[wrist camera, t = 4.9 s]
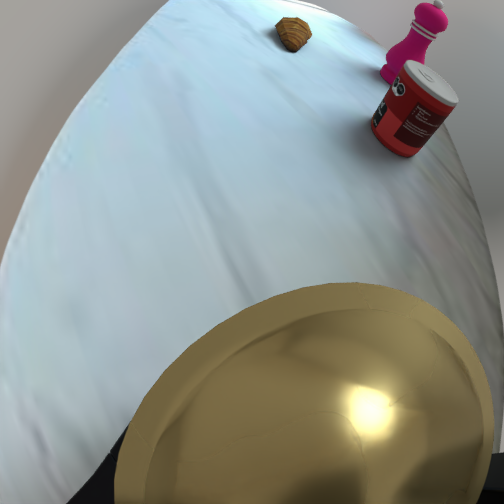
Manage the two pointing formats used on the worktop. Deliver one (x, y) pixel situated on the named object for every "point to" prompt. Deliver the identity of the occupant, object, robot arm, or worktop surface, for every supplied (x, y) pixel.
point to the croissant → (293, 33)
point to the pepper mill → (416, 39)
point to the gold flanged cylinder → (316, 408)
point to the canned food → (412, 109)
